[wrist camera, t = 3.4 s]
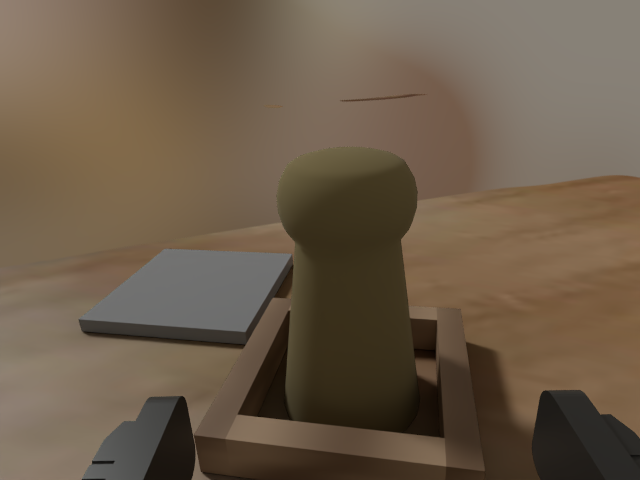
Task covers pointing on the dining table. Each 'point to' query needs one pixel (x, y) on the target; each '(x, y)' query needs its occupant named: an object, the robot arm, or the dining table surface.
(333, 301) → the cork
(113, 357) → the dining table surface
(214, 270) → the slate tile
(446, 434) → the wooden square frame
